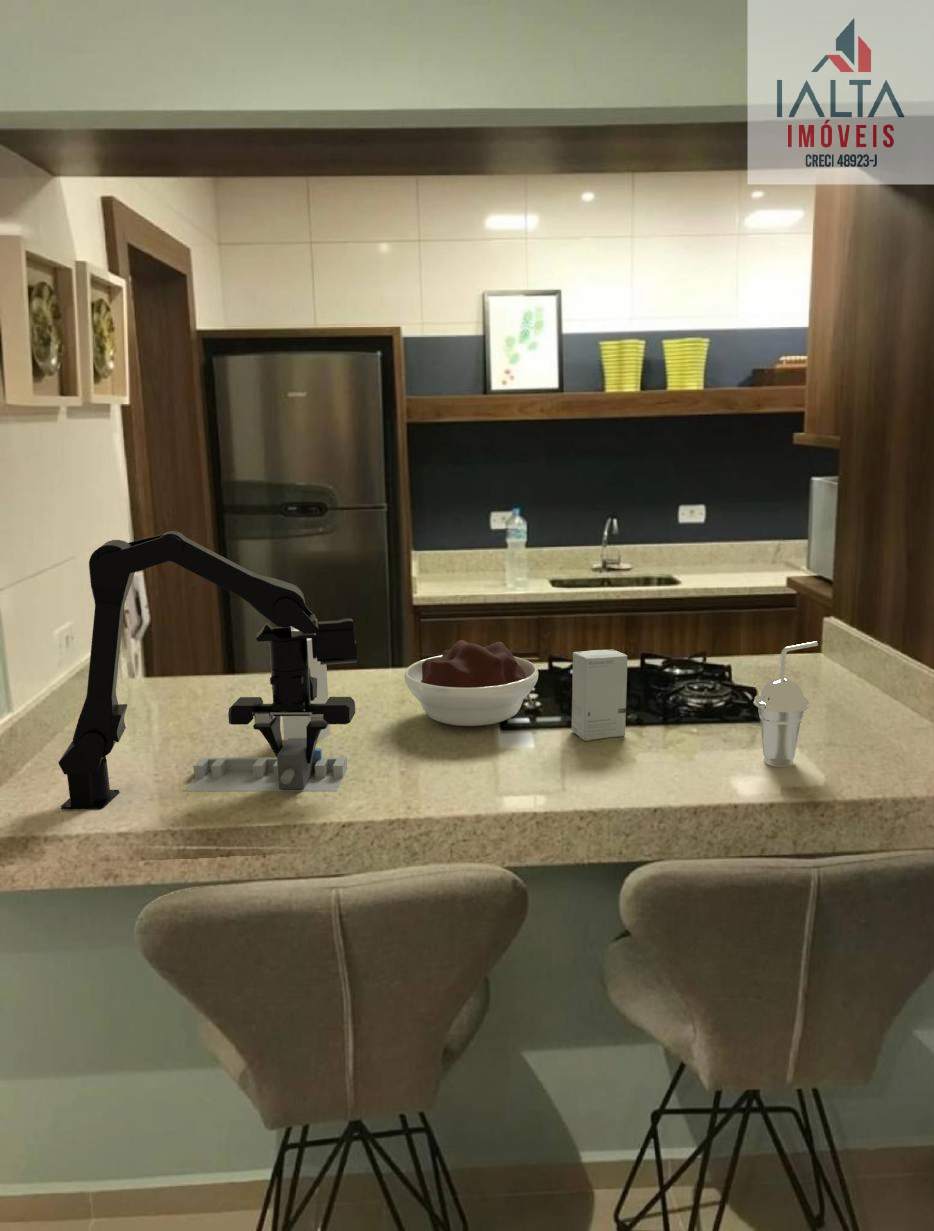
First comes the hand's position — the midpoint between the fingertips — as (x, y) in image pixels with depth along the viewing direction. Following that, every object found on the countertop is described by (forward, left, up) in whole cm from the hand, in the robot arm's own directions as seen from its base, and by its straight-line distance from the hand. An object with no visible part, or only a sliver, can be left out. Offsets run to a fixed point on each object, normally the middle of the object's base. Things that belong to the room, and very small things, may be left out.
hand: (295, 762), depth 148 cm
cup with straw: (+9, -77, -4) cm, 78 cm away
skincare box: (+23, -49, -4) cm, 54 cm away
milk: (+21, +3, -4) cm, 21 cm away
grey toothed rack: (+1, +5, -3) cm, 6 cm away
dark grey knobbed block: (-1, 0, -3) cm, 3 cm away
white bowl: (+32, -26, -4) cm, 41 cm away
